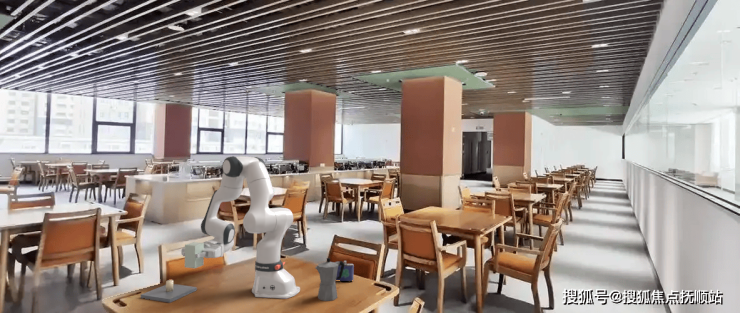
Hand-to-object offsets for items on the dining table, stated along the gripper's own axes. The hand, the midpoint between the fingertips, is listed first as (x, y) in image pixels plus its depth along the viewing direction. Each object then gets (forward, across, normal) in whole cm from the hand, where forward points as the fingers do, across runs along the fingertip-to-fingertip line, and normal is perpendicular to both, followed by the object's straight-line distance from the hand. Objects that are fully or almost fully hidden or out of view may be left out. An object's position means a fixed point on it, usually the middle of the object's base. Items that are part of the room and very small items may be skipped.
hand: (190, 255), depth 182 cm
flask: (-32, +68, +16) cm, 77 cm away
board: (+12, 0, +15) cm, 19 cm away
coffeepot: (-9, +70, +16) cm, 72 cm away
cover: (-3, 0, +6) cm, 7 cm away
